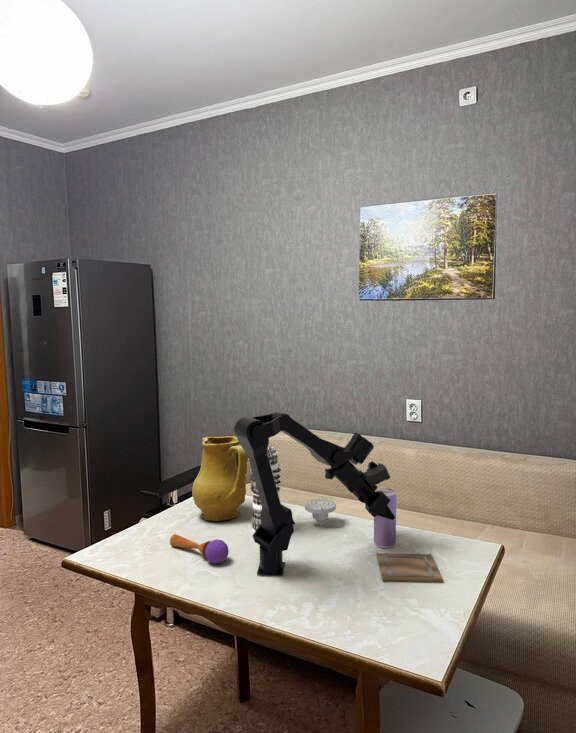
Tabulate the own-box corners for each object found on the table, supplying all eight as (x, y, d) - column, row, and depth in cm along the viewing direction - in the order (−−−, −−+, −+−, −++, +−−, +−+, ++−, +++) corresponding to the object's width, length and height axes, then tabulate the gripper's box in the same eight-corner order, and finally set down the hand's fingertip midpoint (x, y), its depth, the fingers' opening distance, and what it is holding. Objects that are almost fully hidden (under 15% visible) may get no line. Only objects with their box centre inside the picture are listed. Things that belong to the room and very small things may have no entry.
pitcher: (237, 502, 182) (235, 430, 180) (255, 521, 165) (253, 442, 163) (187, 510, 176) (184, 435, 174) (200, 531, 159) (198, 448, 156)
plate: (442, 582, 125) (442, 580, 125) (382, 581, 126) (382, 578, 126) (431, 556, 139) (431, 553, 139) (377, 555, 140) (377, 552, 140)
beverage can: (397, 549, 144) (397, 495, 143) (374, 548, 144) (375, 494, 143) (394, 540, 150) (395, 488, 148) (372, 539, 150) (373, 487, 149)
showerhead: (305, 507, 157) (303, 495, 166) (306, 531, 157) (304, 518, 167) (337, 506, 157) (333, 495, 167) (338, 530, 157) (334, 517, 167)
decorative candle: (284, 524, 162) (282, 444, 160) (279, 537, 153) (277, 451, 151) (254, 523, 164) (252, 443, 161) (248, 535, 155) (245, 451, 152)
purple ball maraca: (183, 528, 152) (233, 540, 139) (182, 549, 151) (232, 563, 138) (166, 530, 147) (217, 543, 134) (165, 553, 146) (215, 567, 134)
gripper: (382, 464, 135) (423, 504, 138) (362, 447, 154) (398, 483, 156) (352, 497, 135) (393, 536, 137) (335, 475, 153) (372, 510, 156)
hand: (390, 514), depth 147 cm, fingers closed on beverage can, 6 cm apart
